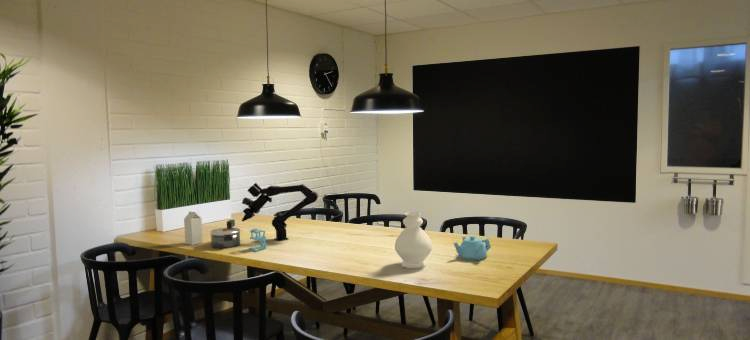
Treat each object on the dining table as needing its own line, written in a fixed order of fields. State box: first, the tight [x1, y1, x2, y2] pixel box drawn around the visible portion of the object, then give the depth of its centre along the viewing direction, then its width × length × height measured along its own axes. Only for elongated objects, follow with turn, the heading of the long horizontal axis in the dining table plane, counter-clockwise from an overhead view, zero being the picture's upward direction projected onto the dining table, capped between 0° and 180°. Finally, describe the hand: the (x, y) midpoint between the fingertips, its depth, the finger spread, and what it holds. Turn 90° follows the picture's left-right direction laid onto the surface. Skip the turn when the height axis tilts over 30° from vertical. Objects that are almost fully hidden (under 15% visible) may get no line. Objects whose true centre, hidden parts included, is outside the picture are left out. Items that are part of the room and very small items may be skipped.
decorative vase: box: [394, 211, 433, 269], centre depth 253 cm, size 18×18×25 cm
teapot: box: [453, 235, 491, 261], centre depth 264 cm, size 15×15×11 cm
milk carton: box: [183, 211, 204, 246], centre depth 313 cm, size 7×7×19 cm
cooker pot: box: [210, 232, 241, 250], centre depth 308 cm, size 26×16×7 cm, turn 24°
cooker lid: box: [209, 219, 241, 236], centre depth 309 cm, size 23×17×5 cm
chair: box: [248, 228, 267, 253], centre depth 293 cm, size 8×8×12 cm
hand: (242, 220), depth 318 cm, fingers closed
